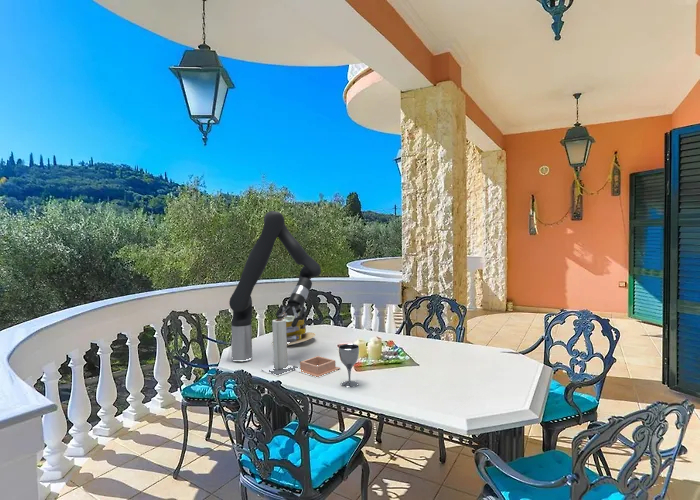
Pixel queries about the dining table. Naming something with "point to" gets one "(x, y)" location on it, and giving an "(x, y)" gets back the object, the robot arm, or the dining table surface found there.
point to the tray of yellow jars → (296, 331)
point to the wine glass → (349, 360)
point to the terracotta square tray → (322, 368)
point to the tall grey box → (279, 343)
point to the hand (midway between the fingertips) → (285, 325)
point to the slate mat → (282, 370)
